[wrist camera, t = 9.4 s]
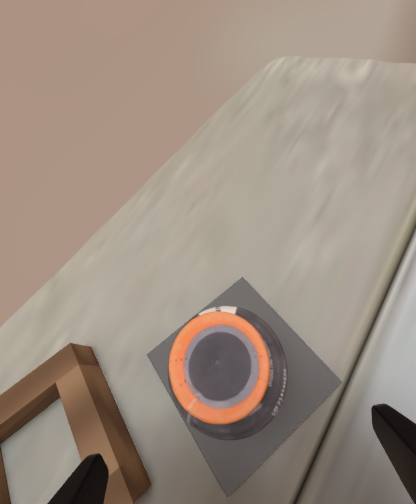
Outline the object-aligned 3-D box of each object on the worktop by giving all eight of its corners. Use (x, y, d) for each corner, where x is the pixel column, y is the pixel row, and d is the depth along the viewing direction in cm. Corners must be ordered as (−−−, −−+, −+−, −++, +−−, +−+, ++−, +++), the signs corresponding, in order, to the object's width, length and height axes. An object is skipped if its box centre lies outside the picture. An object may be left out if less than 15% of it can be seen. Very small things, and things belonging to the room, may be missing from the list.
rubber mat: (337, 382, 18) (342, 382, 17) (228, 490, 16) (227, 498, 15) (243, 281, 23) (242, 277, 22) (151, 355, 22) (146, 354, 20)
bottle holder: (151, 484, 17) (133, 503, 15) (-2, 625, 15) (-55, 677, 13) (90, 346, 23) (70, 343, 20) (-28, 437, 21) (-68, 445, 18)
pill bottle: (207, 325, 21) (166, 278, 11) (277, 337, 19) (301, 295, 10) (193, 403, 18) (121, 434, 8) (271, 423, 17) (298, 490, 7)
